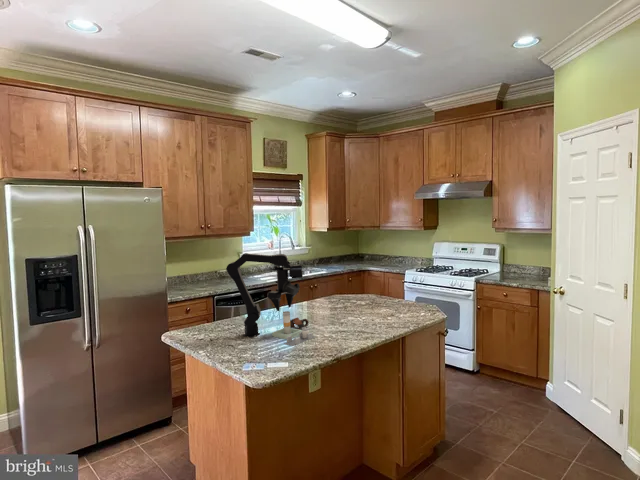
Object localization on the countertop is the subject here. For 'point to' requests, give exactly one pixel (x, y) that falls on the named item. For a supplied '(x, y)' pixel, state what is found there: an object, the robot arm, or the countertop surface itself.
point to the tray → (278, 334)
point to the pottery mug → (298, 323)
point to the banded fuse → (286, 322)
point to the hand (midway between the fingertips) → (284, 309)
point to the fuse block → (298, 339)
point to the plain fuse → (305, 332)
